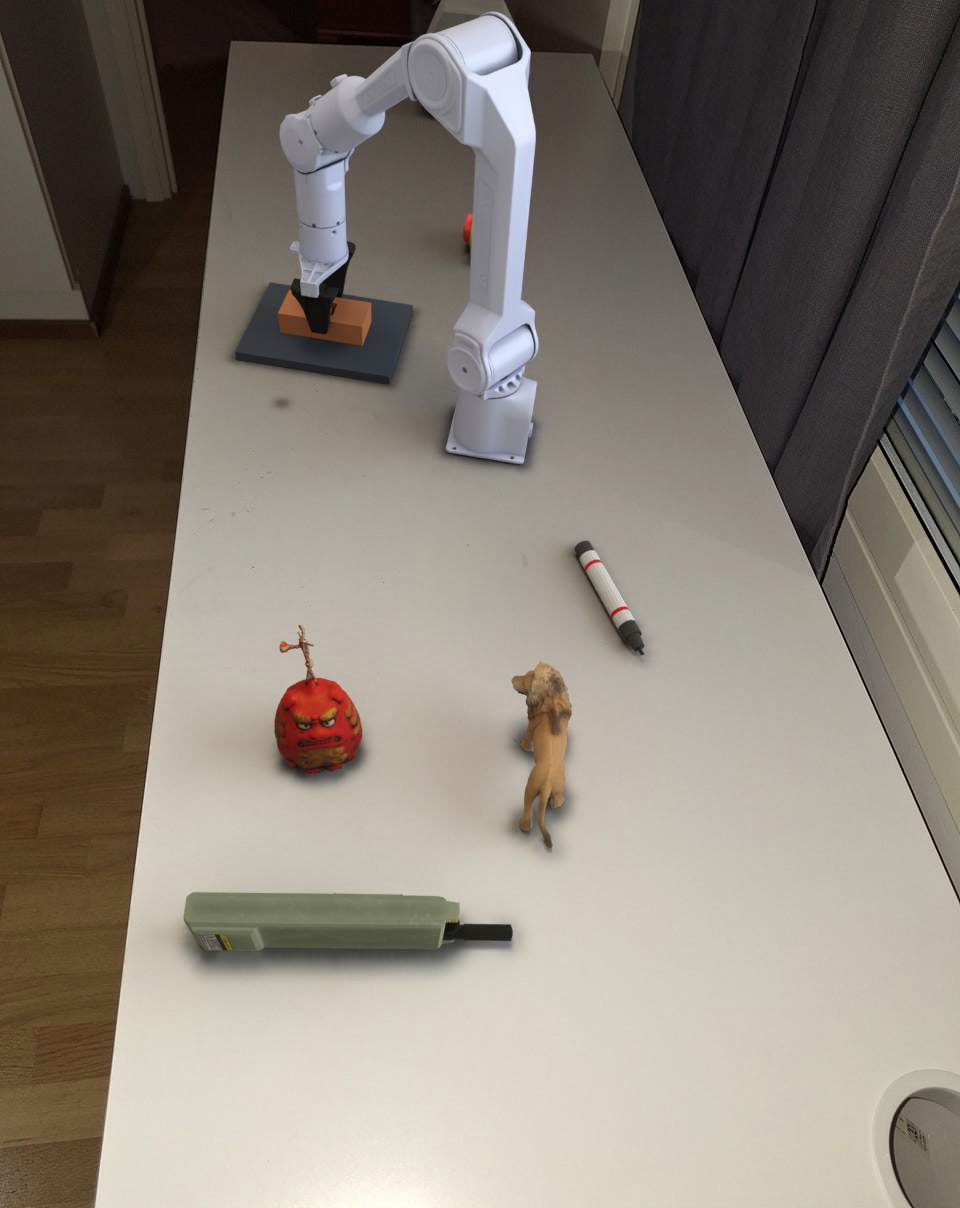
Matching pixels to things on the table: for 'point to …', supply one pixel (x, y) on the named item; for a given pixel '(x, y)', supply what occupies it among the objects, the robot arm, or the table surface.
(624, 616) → the marker
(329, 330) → the orange brown rectangular block
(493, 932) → the handheld radio
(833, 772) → the table surface
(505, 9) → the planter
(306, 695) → the red clay folk toy
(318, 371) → the dark gray base plate
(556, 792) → the lion figurine
